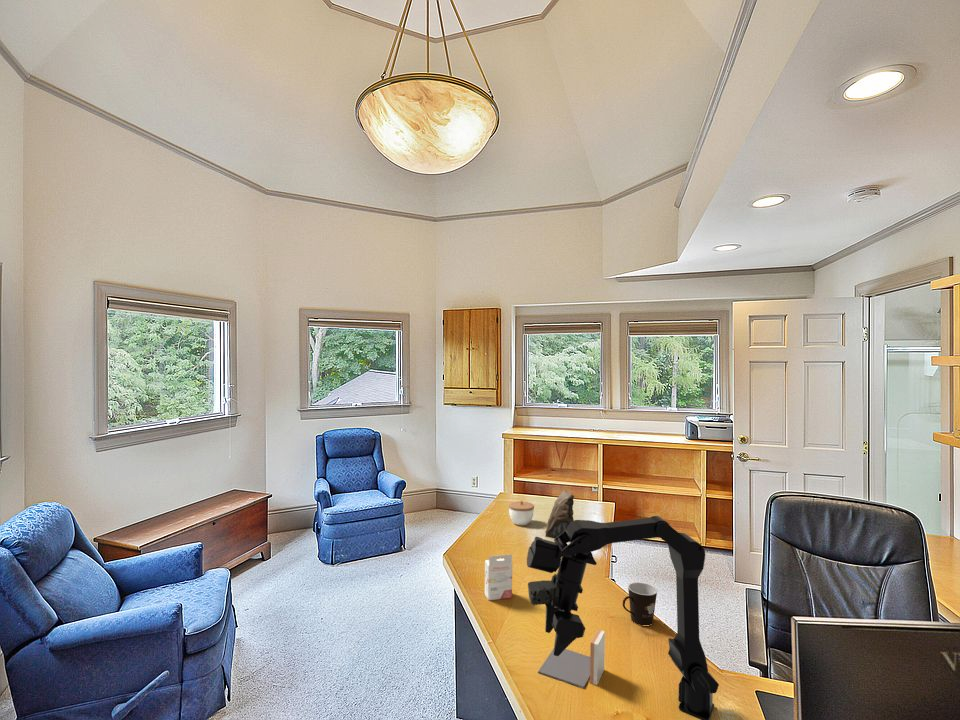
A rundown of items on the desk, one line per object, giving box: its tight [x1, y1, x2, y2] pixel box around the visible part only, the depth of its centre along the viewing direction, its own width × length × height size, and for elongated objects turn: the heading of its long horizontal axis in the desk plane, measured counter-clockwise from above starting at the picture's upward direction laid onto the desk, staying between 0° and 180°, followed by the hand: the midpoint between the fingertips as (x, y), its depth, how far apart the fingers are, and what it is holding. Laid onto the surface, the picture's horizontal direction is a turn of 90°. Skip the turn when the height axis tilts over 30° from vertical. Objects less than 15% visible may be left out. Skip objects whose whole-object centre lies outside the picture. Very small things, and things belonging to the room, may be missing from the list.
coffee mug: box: [622, 581, 658, 626], centre depth 152 cm, size 12×9×10 cm
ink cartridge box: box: [484, 553, 513, 601], centre depth 166 cm, size 9×5×15 cm, turn 105°
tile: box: [589, 629, 606, 686], centre depth 124 cm, size 2×7×10 cm, turn 151°
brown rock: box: [544, 489, 575, 539], centre depth 225 cm, size 13×13×20 cm
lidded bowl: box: [508, 500, 535, 526], centre depth 243 cm, size 13×13×11 cm
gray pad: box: [537, 648, 590, 689], centre depth 128 cm, size 12×13×1 cm
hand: (551, 643), depth 111 cm, fingers open, 9 cm apart
